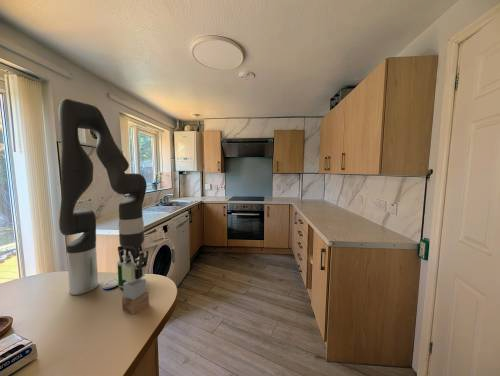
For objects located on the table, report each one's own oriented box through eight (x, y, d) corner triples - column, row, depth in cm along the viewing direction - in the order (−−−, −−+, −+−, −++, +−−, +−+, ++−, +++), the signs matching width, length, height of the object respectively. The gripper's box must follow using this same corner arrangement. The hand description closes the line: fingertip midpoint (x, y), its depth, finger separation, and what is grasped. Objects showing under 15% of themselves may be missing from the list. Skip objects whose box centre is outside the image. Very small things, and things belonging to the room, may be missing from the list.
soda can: (129, 291, 81) (128, 263, 80) (114, 288, 83) (112, 261, 82) (142, 281, 88) (141, 255, 87) (128, 279, 90) (127, 253, 89)
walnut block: (122, 310, 70) (121, 296, 70) (138, 300, 76) (137, 287, 75) (133, 315, 68) (133, 301, 67) (148, 304, 73) (148, 291, 73)
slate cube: (123, 296, 70) (123, 283, 69) (136, 289, 74) (135, 276, 74) (134, 300, 68) (133, 286, 68) (146, 291, 73) (145, 279, 72)
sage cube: (122, 279, 69) (121, 265, 69) (135, 272, 74) (135, 259, 73) (131, 282, 67) (130, 268, 67) (144, 275, 72) (144, 262, 71)
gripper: (108, 230, 69) (110, 276, 70) (134, 236, 63) (136, 287, 64) (129, 225, 76) (131, 267, 77) (155, 230, 69) (156, 276, 71)
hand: (133, 276), depth 70 cm, fingers closed on sage cube, 5 cm apart
